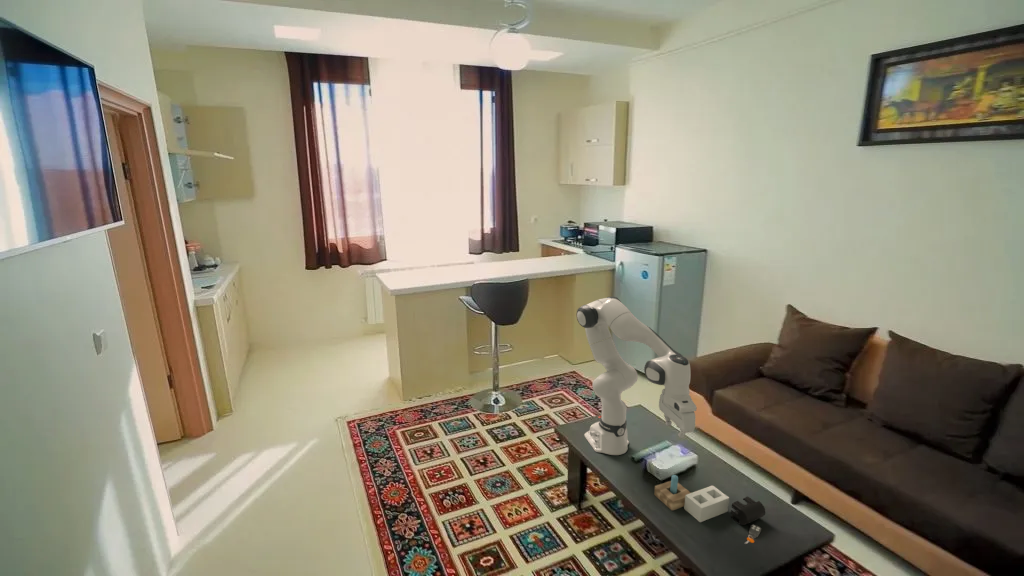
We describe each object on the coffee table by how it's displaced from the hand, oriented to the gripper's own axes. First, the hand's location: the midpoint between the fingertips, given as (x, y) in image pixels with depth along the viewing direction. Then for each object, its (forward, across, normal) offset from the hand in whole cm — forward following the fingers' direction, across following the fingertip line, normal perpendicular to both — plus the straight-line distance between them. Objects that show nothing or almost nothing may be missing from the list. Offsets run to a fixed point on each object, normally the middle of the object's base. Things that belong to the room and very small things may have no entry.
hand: (674, 431), depth 177 cm
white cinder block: (+29, +9, +10) cm, 32 cm away
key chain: (+31, +24, +18) cm, 43 cm away
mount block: (+29, +1, 0) cm, 29 cm away
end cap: (+30, +16, +22) cm, 40 cm away
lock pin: (+29, +1, 0) cm, 29 cm away
